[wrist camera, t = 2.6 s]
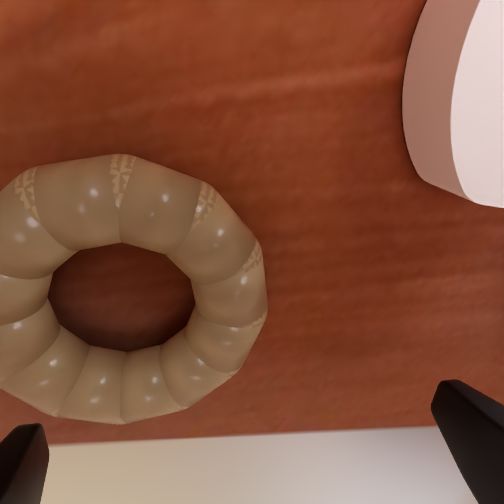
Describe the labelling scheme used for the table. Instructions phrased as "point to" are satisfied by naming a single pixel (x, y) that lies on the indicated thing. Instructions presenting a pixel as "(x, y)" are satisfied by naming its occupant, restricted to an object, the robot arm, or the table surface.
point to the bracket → (457, 98)
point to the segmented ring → (137, 234)
